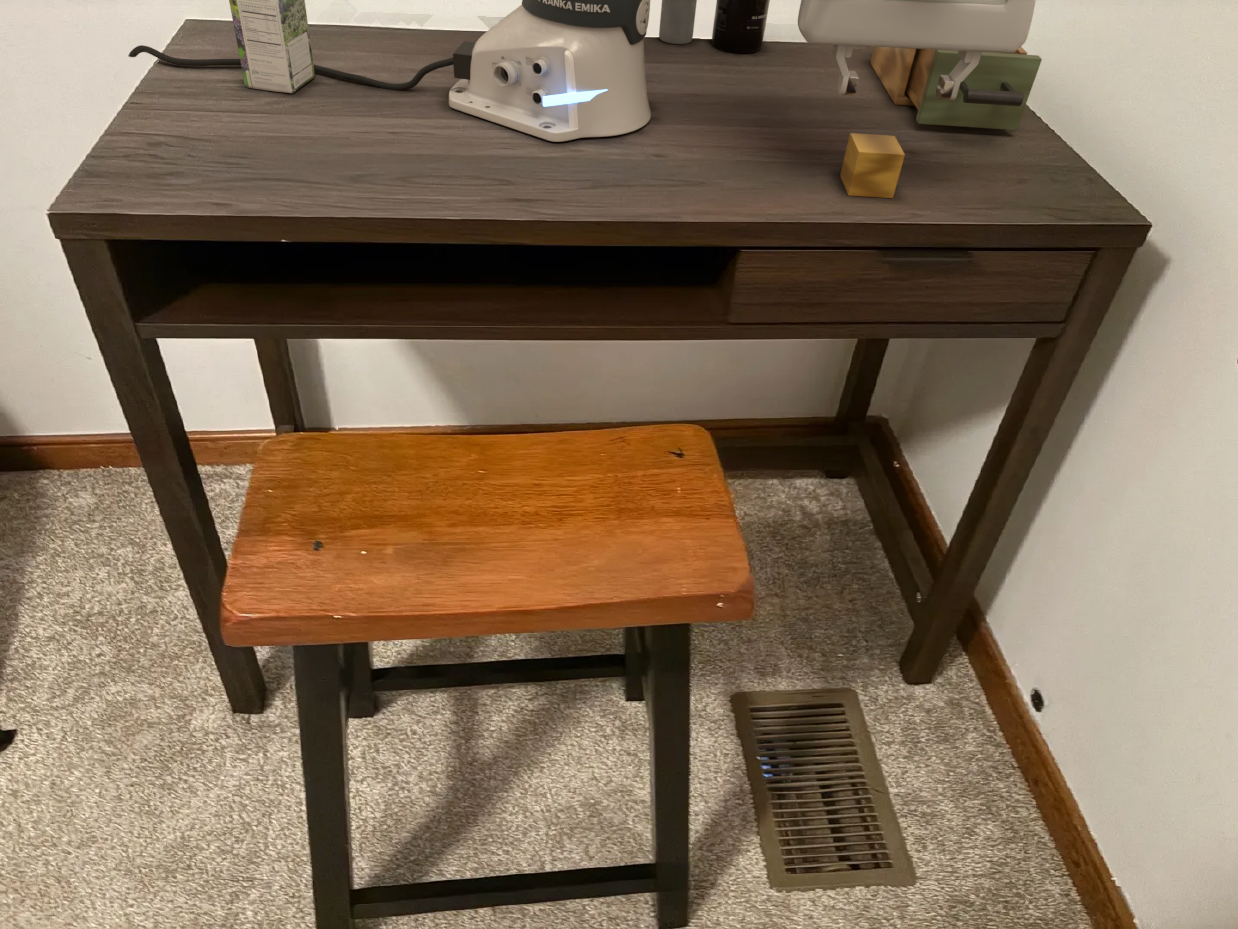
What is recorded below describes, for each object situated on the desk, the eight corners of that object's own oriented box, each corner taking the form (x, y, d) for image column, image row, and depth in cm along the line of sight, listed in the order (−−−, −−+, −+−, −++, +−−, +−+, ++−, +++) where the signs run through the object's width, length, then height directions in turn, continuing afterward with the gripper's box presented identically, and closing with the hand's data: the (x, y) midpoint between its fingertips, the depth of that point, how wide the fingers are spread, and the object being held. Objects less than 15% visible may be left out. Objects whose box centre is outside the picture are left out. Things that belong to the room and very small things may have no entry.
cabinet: (997, 111, 111) (1025, 26, 105) (894, 104, 111) (917, 19, 104) (963, 69, 122) (987, -10, 116) (870, 63, 122) (888, -17, 115)
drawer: (1031, 147, 101) (1058, 74, 96) (929, 141, 100) (950, 67, 95) (981, 87, 115) (1003, 20, 110) (891, 81, 114) (908, 13, 109)
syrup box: (269, 71, 106) (243, -72, 96) (318, 77, 105) (296, -66, 96) (244, 88, 102) (214, -60, 92) (294, 95, 101) (269, -53, 91)
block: (848, 195, 91) (858, 151, 88) (839, 175, 94) (850, 132, 91) (892, 198, 91) (905, 154, 88) (883, 178, 95) (894, 135, 92)
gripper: (1043, -74, 80) (994, 88, 89) (810, -86, 80) (784, 78, 89) (1070, -57, 75) (1015, 112, 85) (822, -70, 75) (793, 102, 84)
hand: (895, 95), depth 87 cm, fingers open, 8 cm apart
